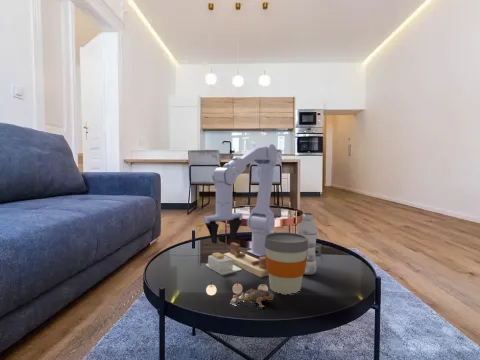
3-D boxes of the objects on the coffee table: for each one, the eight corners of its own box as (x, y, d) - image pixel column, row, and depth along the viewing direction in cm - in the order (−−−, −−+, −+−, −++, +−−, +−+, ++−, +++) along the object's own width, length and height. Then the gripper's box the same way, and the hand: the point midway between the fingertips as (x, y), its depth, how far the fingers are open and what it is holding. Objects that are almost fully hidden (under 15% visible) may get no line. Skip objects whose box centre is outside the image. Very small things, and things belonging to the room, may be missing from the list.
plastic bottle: (317, 271, 98) (318, 212, 97) (315, 278, 92) (317, 216, 91) (298, 268, 100) (299, 211, 99) (295, 275, 94) (296, 214, 93)
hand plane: (237, 255, 114) (238, 240, 114) (276, 272, 96) (276, 255, 96) (222, 259, 110) (223, 243, 110) (260, 277, 92) (260, 259, 92)
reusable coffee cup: (303, 300, 77) (305, 245, 76) (258, 292, 81) (259, 240, 80) (309, 282, 88) (310, 234, 88) (269, 277, 93) (270, 230, 92)
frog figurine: (281, 297, 79) (281, 283, 79) (267, 318, 69) (268, 302, 68) (243, 289, 84) (243, 276, 84) (224, 307, 73) (224, 293, 73)
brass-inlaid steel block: (220, 263, 104) (220, 251, 104) (232, 269, 98) (232, 257, 97) (208, 265, 101) (208, 253, 101) (219, 272, 95) (220, 259, 95)
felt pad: (224, 261, 107) (224, 260, 107) (242, 270, 98) (242, 269, 98) (205, 265, 103) (205, 264, 103) (222, 275, 94) (222, 274, 94)
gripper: (234, 199, 107) (234, 236, 108) (199, 202, 98) (199, 241, 99) (246, 201, 101) (245, 240, 102) (210, 204, 93) (210, 246, 93)
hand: (223, 241), depth 100 cm, fingers open, 7 cm apart
